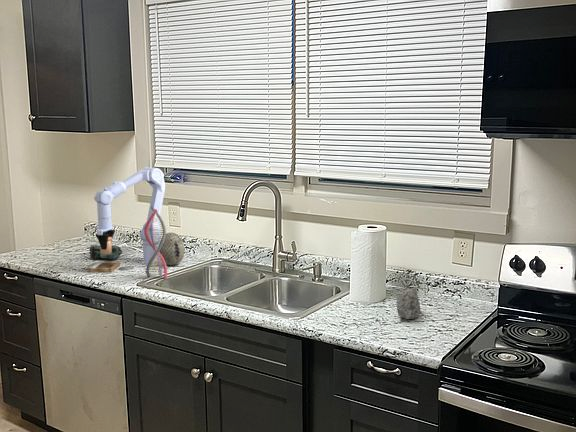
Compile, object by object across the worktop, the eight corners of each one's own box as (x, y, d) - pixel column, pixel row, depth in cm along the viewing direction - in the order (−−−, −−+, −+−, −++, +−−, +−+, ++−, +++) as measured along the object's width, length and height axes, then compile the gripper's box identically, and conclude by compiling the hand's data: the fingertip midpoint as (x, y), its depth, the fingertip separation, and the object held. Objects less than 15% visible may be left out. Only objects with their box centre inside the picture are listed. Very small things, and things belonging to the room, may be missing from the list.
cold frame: (120, 266, 287) (120, 260, 286) (111, 273, 274) (110, 267, 274) (96, 265, 287) (96, 260, 287) (86, 273, 275) (86, 267, 274)
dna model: (162, 281, 261) (160, 209, 256) (142, 280, 263) (139, 209, 258) (170, 275, 270) (168, 206, 265) (151, 274, 272) (148, 206, 267)
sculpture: (122, 247, 307) (91, 253, 305) (119, 236, 302) (87, 242, 300) (123, 264, 298) (91, 270, 296) (119, 252, 293) (87, 259, 291)
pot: (114, 252, 282) (113, 236, 281) (110, 254, 276) (109, 238, 275) (102, 251, 282) (101, 236, 281) (97, 254, 277) (97, 238, 276)
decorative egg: (167, 269, 281) (165, 236, 278) (154, 264, 290) (153, 232, 287) (189, 265, 288) (188, 233, 286) (177, 260, 297) (175, 229, 295)
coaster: (135, 267, 284) (135, 266, 284) (131, 271, 278) (131, 270, 278) (121, 267, 285) (121, 266, 285) (116, 271, 278) (116, 269, 278)
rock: (410, 305, 227) (408, 281, 224) (431, 309, 222) (429, 284, 219) (390, 323, 215) (387, 298, 213) (411, 328, 210) (409, 301, 208)
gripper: (101, 214, 284) (103, 244, 286) (89, 220, 270) (91, 251, 272) (116, 214, 284) (118, 244, 286) (105, 220, 269) (107, 251, 272)
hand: (106, 247), depth 279 cm, fingers closed on pot, 5 cm apart
